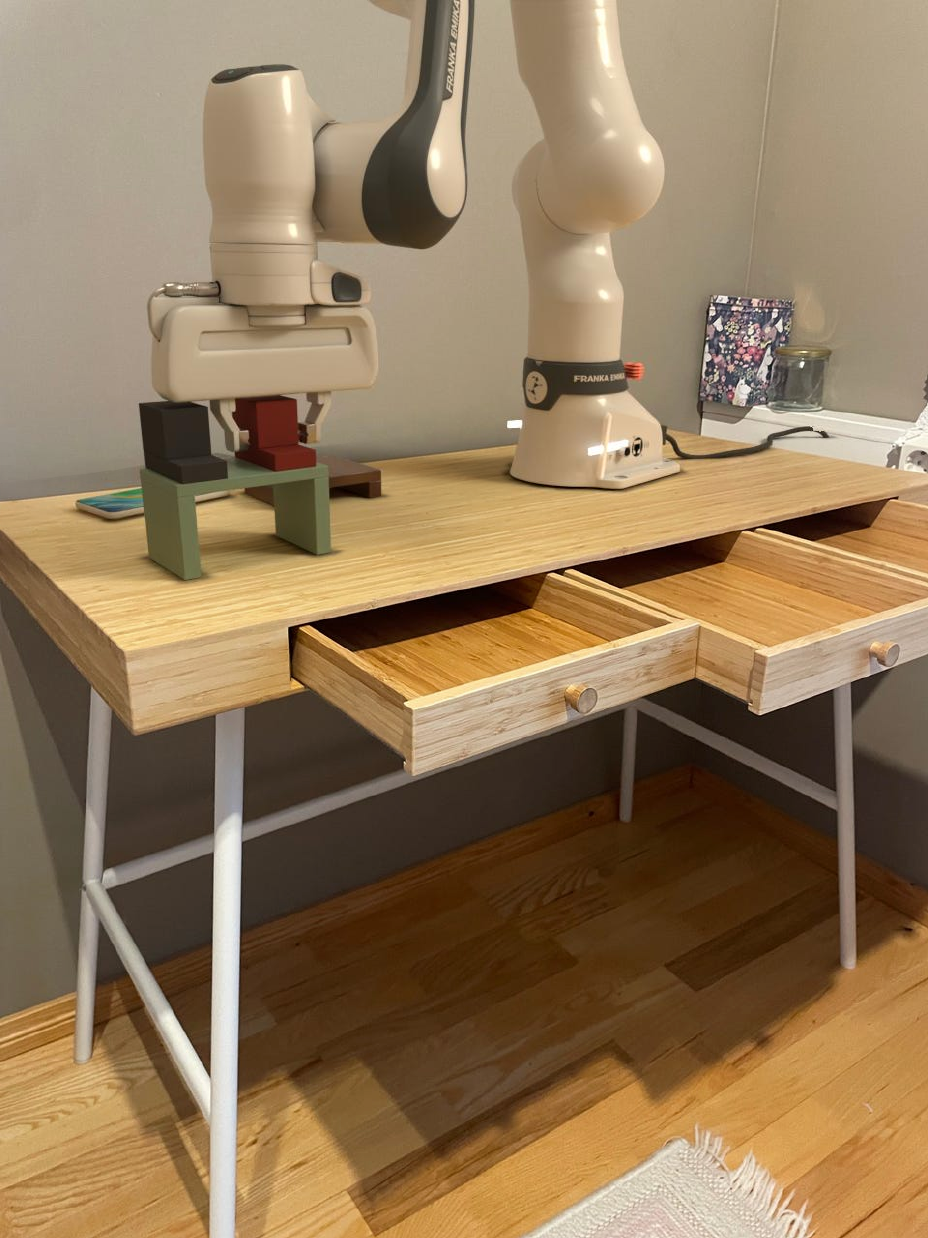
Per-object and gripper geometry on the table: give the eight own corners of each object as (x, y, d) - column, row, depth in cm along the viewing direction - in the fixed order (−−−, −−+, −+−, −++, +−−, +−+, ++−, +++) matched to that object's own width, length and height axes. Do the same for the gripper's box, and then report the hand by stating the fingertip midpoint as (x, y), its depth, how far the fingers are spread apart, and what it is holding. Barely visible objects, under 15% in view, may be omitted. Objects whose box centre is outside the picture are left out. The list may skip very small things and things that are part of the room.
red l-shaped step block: (274, 452, 91) (270, 392, 89) (316, 466, 85) (314, 403, 83) (234, 456, 88) (230, 395, 87) (275, 471, 83) (272, 406, 81)
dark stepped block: (189, 462, 86) (183, 399, 84) (228, 478, 80) (223, 411, 78) (144, 467, 83) (138, 402, 82) (182, 484, 78) (175, 415, 76)
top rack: (289, 533, 94) (285, 451, 91) (331, 552, 88) (328, 465, 85) (148, 557, 86) (139, 468, 83) (184, 580, 80) (176, 485, 77)
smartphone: (231, 488, 108) (110, 513, 97) (232, 496, 108) (111, 521, 97) (192, 477, 112) (71, 500, 101) (192, 485, 112) (72, 508, 101)
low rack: (335, 480, 117) (335, 455, 116) (381, 496, 109) (381, 469, 108) (244, 493, 110) (242, 466, 109) (286, 510, 102) (285, 482, 101)
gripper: (160, 282, 73) (176, 465, 78) (386, 282, 85) (388, 440, 90) (130, 280, 78) (146, 452, 82) (348, 280, 89) (352, 431, 94)
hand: (274, 446), depth 86 cm, fingers open, 6 cm apart
